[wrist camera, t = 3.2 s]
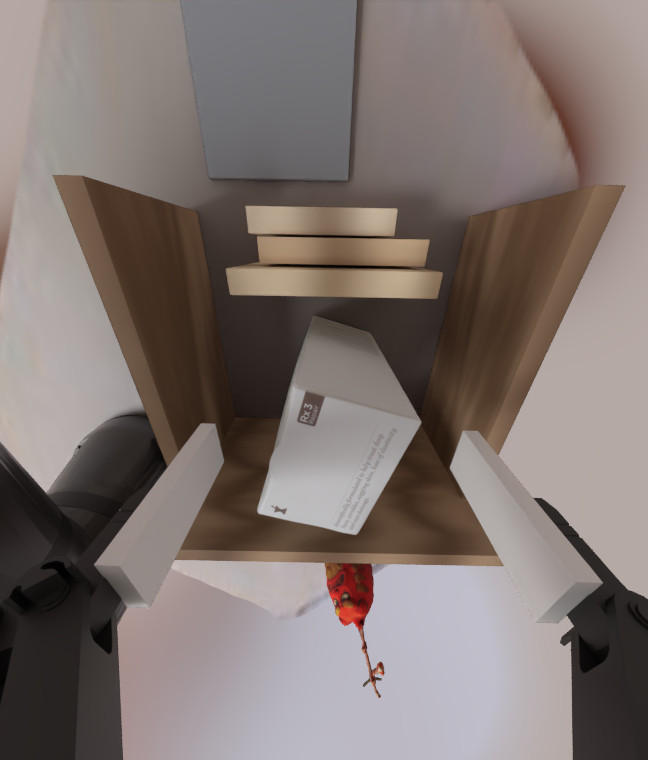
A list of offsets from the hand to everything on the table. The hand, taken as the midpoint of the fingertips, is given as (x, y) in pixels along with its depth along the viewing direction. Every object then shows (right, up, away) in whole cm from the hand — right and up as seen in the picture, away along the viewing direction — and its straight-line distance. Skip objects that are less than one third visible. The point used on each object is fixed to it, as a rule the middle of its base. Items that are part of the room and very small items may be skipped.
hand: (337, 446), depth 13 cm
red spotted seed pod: (+3, -24, +27) cm, 36 cm away
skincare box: (0, +6, +11) cm, 13 cm away
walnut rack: (0, +7, +11) cm, 13 cm away
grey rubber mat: (-4, +23, +2) cm, 23 cm away
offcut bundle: (0, +14, +7) cm, 16 cm away
